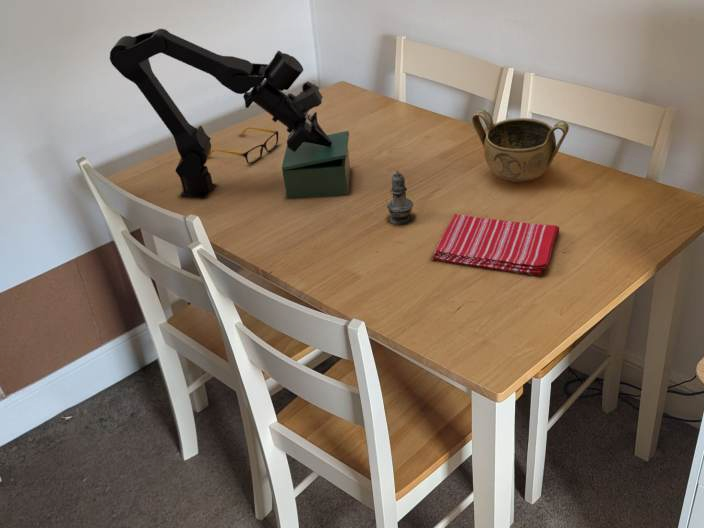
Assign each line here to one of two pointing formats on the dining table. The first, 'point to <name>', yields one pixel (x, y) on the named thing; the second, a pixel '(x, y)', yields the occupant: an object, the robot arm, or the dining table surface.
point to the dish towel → (497, 244)
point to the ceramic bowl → (518, 146)
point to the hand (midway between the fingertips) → (330, 144)
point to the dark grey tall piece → (399, 202)
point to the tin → (318, 179)
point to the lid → (317, 152)
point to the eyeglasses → (254, 147)
